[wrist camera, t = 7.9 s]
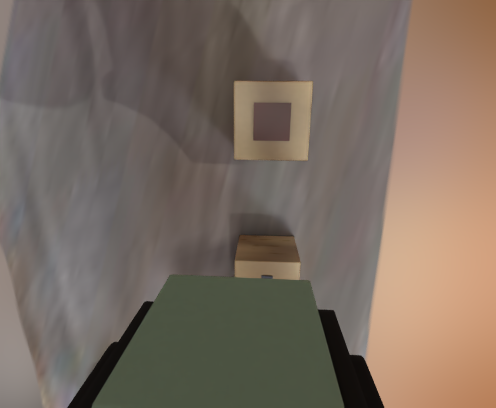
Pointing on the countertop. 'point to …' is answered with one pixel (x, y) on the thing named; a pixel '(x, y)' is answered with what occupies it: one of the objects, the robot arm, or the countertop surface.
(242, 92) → the block
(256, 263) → the block
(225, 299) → the block
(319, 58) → the countertop surface
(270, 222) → the countertop surface
